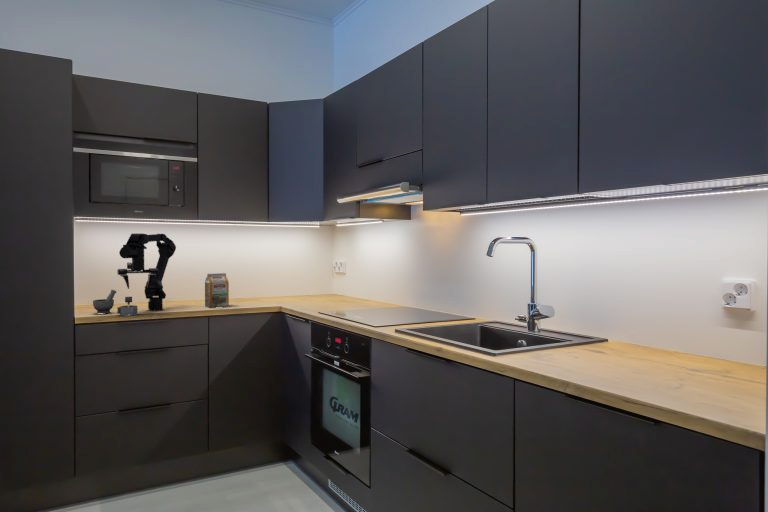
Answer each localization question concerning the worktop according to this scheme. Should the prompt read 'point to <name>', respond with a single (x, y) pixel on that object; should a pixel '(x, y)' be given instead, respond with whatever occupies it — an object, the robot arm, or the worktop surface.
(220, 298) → the printed carton
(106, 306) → the mortar and pestle
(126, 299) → the plunger
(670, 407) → the worktop surface
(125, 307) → the blue-grey block
